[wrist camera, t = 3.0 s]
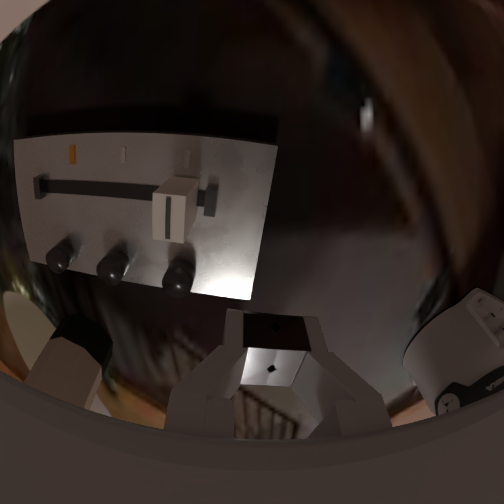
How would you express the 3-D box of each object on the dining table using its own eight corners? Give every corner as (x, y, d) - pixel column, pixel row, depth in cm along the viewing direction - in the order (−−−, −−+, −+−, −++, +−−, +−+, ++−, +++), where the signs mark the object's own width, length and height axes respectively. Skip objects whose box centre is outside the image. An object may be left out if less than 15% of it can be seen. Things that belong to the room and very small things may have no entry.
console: (275, 143, 19) (280, 150, 16) (250, 286, 26) (249, 315, 22) (26, 136, 18) (-1, 144, 14) (40, 251, 24) (20, 270, 20)
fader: (199, 179, 18) (185, 196, 15) (196, 218, 20) (183, 244, 16) (171, 176, 18) (152, 193, 15) (170, 215, 20) (152, 240, 16)
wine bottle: (53, 310, 28) (-39, 498, 2) (102, 317, 28) (14, 547, 2) (75, 352, 32) (11, 521, 6) (122, 362, 32) (66, 557, 6)
